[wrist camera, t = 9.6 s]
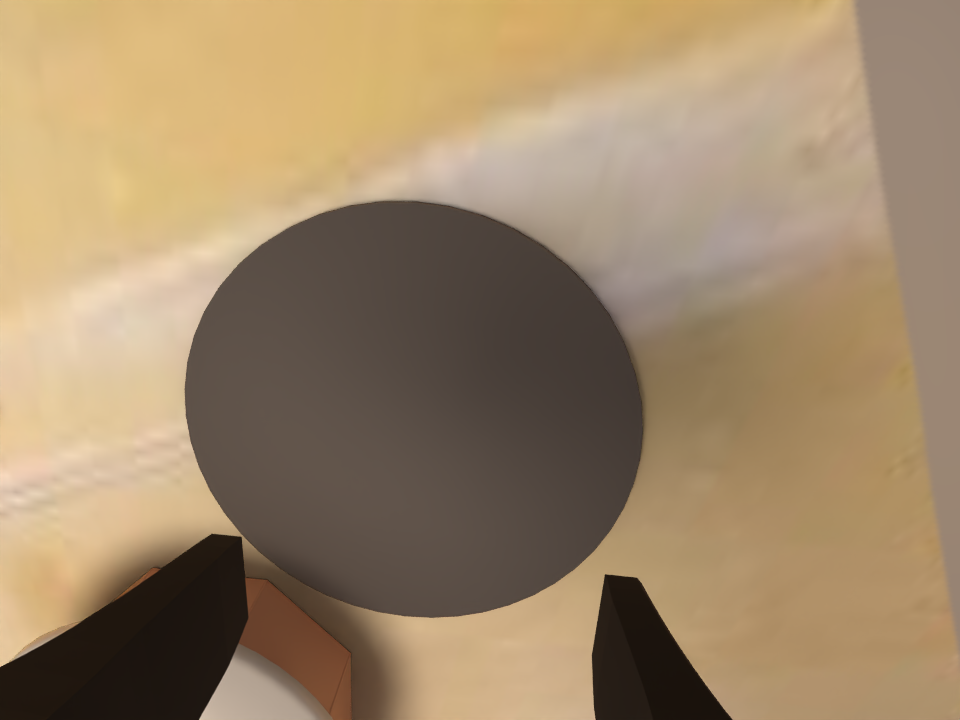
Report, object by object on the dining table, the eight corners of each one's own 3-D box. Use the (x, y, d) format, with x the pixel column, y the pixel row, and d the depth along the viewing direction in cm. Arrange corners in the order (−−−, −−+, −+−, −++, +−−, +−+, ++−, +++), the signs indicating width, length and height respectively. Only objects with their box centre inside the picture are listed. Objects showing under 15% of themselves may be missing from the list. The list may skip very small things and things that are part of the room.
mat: (677, 221, 20) (680, 223, 20) (608, 630, 26) (609, 638, 26) (165, 183, 21) (159, 184, 21) (211, 587, 27) (206, 594, 27)
